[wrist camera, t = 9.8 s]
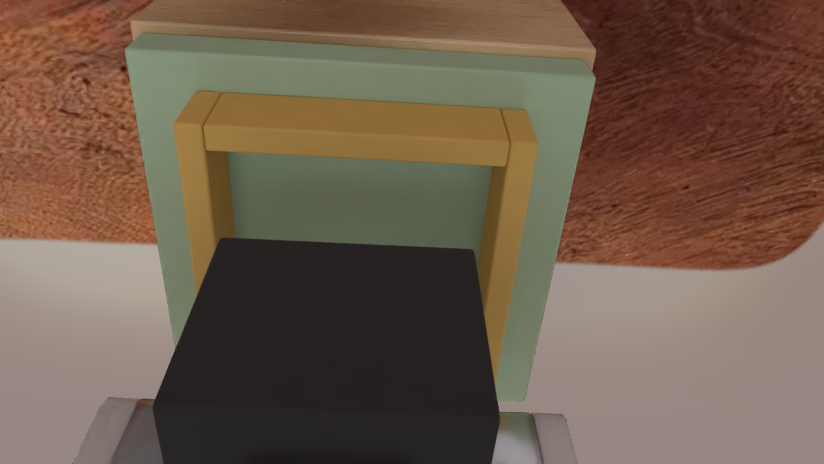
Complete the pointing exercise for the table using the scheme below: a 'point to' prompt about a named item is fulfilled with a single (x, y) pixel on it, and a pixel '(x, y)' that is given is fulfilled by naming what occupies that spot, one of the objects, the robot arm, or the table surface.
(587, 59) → the stand
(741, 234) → the table surface
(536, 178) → the base pad
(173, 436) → the black block
